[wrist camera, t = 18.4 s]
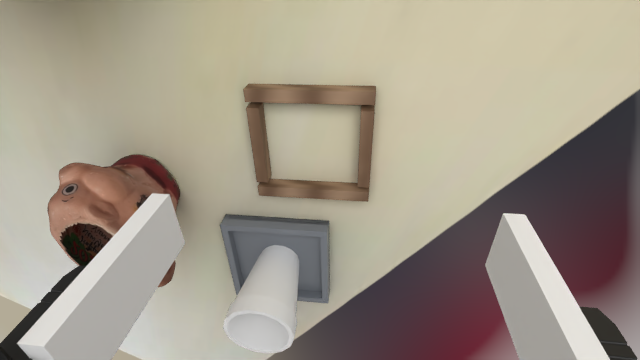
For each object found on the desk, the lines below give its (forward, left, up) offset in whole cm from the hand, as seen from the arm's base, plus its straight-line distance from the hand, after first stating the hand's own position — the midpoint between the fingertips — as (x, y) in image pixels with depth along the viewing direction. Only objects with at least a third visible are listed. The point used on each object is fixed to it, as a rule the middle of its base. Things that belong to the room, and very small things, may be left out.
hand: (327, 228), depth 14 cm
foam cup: (-11, -32, -28) cm, 44 cm away
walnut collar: (-5, -11, -29) cm, 31 cm away
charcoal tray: (-11, -32, -29) cm, 44 cm away
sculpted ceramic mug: (-29, -20, -29) cm, 46 cm away
